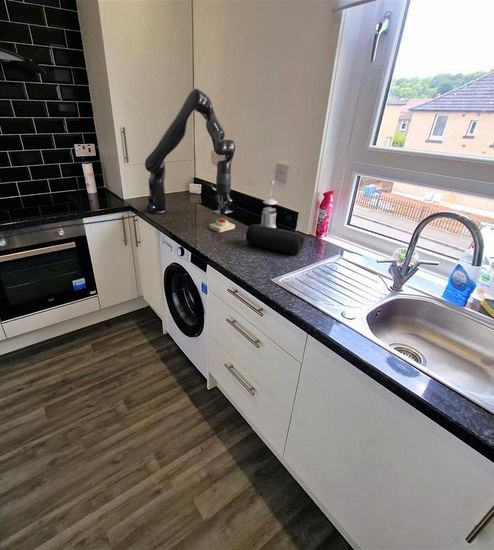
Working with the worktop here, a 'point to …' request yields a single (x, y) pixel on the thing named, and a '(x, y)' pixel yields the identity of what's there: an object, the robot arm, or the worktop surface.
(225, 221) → the button
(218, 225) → the control block
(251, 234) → the portable speaker
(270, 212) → the french press
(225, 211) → the bracket
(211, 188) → the lever
